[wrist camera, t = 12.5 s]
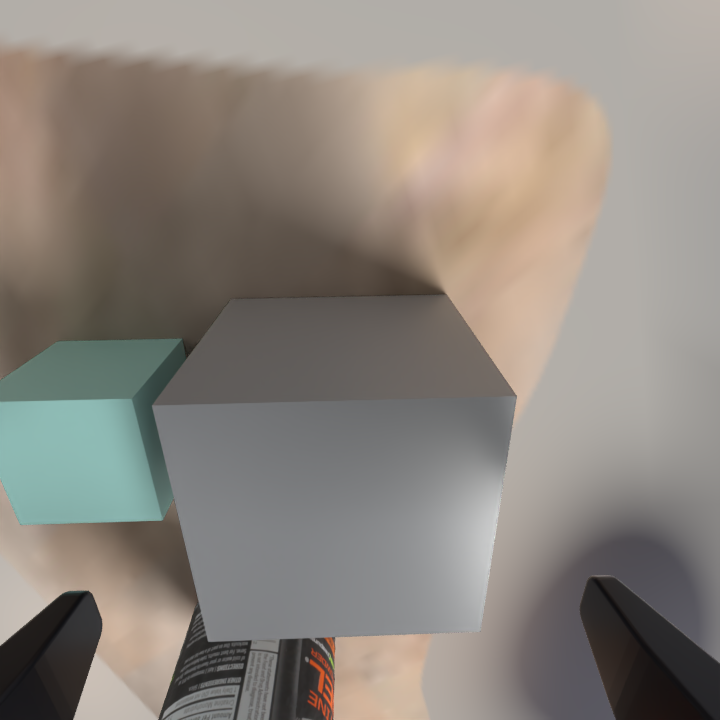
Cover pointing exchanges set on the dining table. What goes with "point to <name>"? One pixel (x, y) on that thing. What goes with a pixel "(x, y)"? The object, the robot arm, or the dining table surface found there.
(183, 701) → the supplement bottle
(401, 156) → the dining table surface
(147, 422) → the cube
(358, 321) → the grey arch block
